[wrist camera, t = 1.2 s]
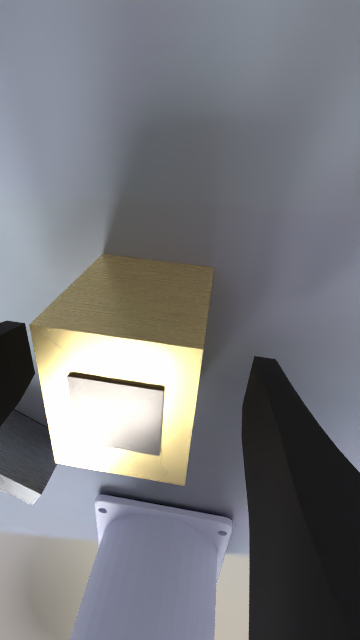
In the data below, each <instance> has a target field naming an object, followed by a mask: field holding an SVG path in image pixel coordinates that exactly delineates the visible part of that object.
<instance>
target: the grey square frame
mask: <svg viewBox="0 0 360 640" xmlns="http://www.w3.org/2000/svg"><path fill="white" fill-rule="evenodd" d="M57 464H58V463H55V458H54V452H53V447H52V442H51V437H50V431H49V429H48V428H47V427H45V426H43V425H41V424H39V423H37V422H35V421H34V420H32V419H30V418H28V417H26V416H24V415H22V414H21V413H19V412H17V411H15V410H13V411H12V412H11V413H10V415H9V416H8V417H7V419H6V420H5V421H4V423H3V424H2V425H1V427H0V490H2V491H4V492H6V493H8V494H10V495H12V496H14V497H16V498H18V499H20V500H22V501H24V502H26V503H28V504H30V505H33V504H34V503H35V501H36V500H37V499H38V498H39V497H40V495H41V494H42V492H43V490H44V488H45V486H46V485H47V483H48V481H49V479H50V477H51V475H52V473H53V471H54V469H55V467H56V465H57Z"/></svg>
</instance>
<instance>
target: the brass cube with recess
mask: <svg viewBox="0 0 360 640" xmlns="http://www.w3.org/2000/svg"><path fill="white" fill-rule="evenodd" d="M213 274H214V268H213V267H205V266H197V265H189V264H181V263H173V262H165V261H156V260H148V259H140V258H132V257H124V256H116V255H108V254H102V255H101V256H100V257H99V258H98V259H97V260H96V261H95V262H94V263H93V264H92V265H91V266H90V267H89V268H88V269H87V270H86V271H85V272H84V273H82V274H81V275H80V276H79V277H78V278H77V279H76V280H75V281H74V282H73V283H72V284H71V285H70V286H69V287H68V288H67V289H66V290H65V291H64V292H63V293H62V294H61V295H60V296H59V297H58V298H57V299H55V300H54V301H53V302H52V303H51V304H50V305H49V306H48V307H47V308H46V309H45V310H44V311H43V312H42V313H41V314H40V315H39V316H38V317H37V318H36V319H35V320H34V321H33V322H32V323H31V324H30V331H31V336H32V341H33V346H34V352H35V357H36V362H37V368H38V373H39V378H40V384H41V389H42V394H43V399H44V405H45V410H46V415H47V421H48V426H49V431H50V437H51V442H52V447H53V452H54V458H55V463H58V464H64V465H69V466H75V467H81V468H86V469H92V470H98V471H103V472H109V473H114V474H120V475H126V476H131V477H137V478H143V479H148V480H154V481H159V482H165V483H171V484H176V485H182V486H185V479H186V472H187V464H188V457H189V450H190V443H191V435H192V428H193V421H194V414H195V407H196V399H197V392H198V385H199V378H200V370H201V363H202V356H203V349H204V341H205V334H206V326H207V319H208V311H209V304H210V296H211V289H212V281H213Z"/></svg>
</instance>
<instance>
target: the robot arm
mask: <svg viewBox="0 0 360 640" xmlns="http://www.w3.org/2000/svg"><path fill="white" fill-rule="evenodd" d="M34 374H35V371H34V366H33V361H32V356H31V351H30V346H29V341H28V336H27V331H26V326H25V323H19V322H12V321H4V322H1V323H0V427H1V425H2V424H3V423H4V421H5V420H6V419H7V417H8V416H9V415H10V413H11V412H12V411H13V409H14V408H15V407H16V405H17V404H18V402H19V401H20V400H21V398H22V396H23V394H24V393H25V391H26V389H27V388H28V386H29V384H30V382H31V380H32V378H33V376H34ZM242 446H243V458H244V468H245V479H246V490H247V501H248V511H249V532H250V582H249V583H250V585H249V591H250V592H249V640H360V473H359V471H358V470H357V469H356V468H355V467H354V466H353V465H352V464H351V463H350V462H349V460H348V459H347V458H346V457H345V456H344V455H343V454H342V453H341V451H340V450H339V449H338V448H337V447H336V445H335V444H334V443H333V442H332V440H331V439H330V438H329V437H328V435H327V434H326V433H325V432H324V430H323V429H322V428H321V426H320V425H319V424H318V422H317V421H316V420H315V418H314V417H313V415H312V414H311V413H310V411H309V410H308V408H307V407H306V406H305V404H304V403H303V401H302V400H301V398H300V397H299V395H298V394H297V392H296V391H295V389H294V388H293V386H292V385H291V383H290V382H289V380H288V378H287V377H286V375H285V374H284V372H283V370H282V369H281V367H280V365H279V364H278V362H277V361H276V360H275V359H270V358H263V357H256V356H254V360H253V364H252V368H251V373H250V377H249V381H248V385H247V389H246V393H245V397H244V402H243V406H242ZM94 505H95V515H96V524H97V534H98V544H99V548H98V552H97V555H96V558H95V561H94V564H93V568H92V570H91V574H90V577H89V580H88V583H87V586H86V589H85V592H84V596H83V598H82V602H81V605H80V608H79V611H78V614H77V617H76V620H75V623H74V626H73V630H72V633H71V636H70V639H69V640H214V630H215V604H216V583H217V579H218V576H219V573H220V569H221V566H222V563H223V559H224V556H225V553H226V549H227V546H228V543H229V539H230V536H231V533H232V529H233V523H232V521H231V520H230V519H229V518H227V517H223V516H217V515H212V514H206V513H201V512H195V511H190V510H185V509H179V508H174V507H168V506H163V505H158V504H152V503H147V502H141V501H136V500H130V499H125V498H120V497H114V496H109V495H98V496H97V497H96V500H95V503H94Z"/></svg>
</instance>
